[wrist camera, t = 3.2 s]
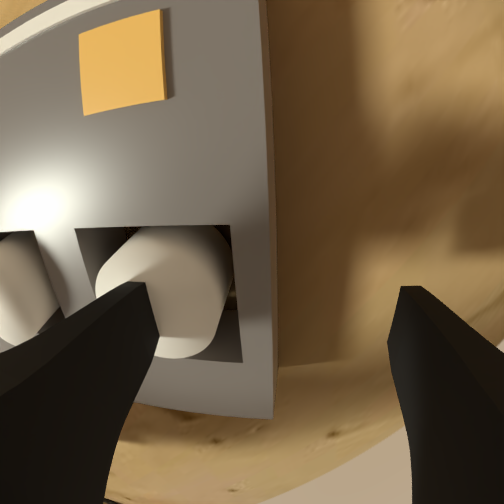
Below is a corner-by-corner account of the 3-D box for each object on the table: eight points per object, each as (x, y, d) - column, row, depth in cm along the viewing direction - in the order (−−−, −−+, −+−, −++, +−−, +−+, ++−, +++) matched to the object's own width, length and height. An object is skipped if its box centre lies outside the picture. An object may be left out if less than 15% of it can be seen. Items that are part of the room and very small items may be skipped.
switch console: (277, 368, 15) (272, 423, 12) (-10, 323, 17) (-33, 349, 14) (264, -22, 7) (252, -64, 4) (-69, 112, 10) (-105, 124, 7)
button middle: (80, 310, 12) (44, 354, 10) (24, 301, 13) (-10, 337, 10) (52, 226, 11) (3, 263, 8) (-2, 229, 11) (-45, 260, 9)
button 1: (238, 308, 12) (224, 363, 10) (145, 303, 13) (115, 351, 10) (229, 210, 11) (208, 252, 8) (124, 214, 11) (80, 250, 8)
